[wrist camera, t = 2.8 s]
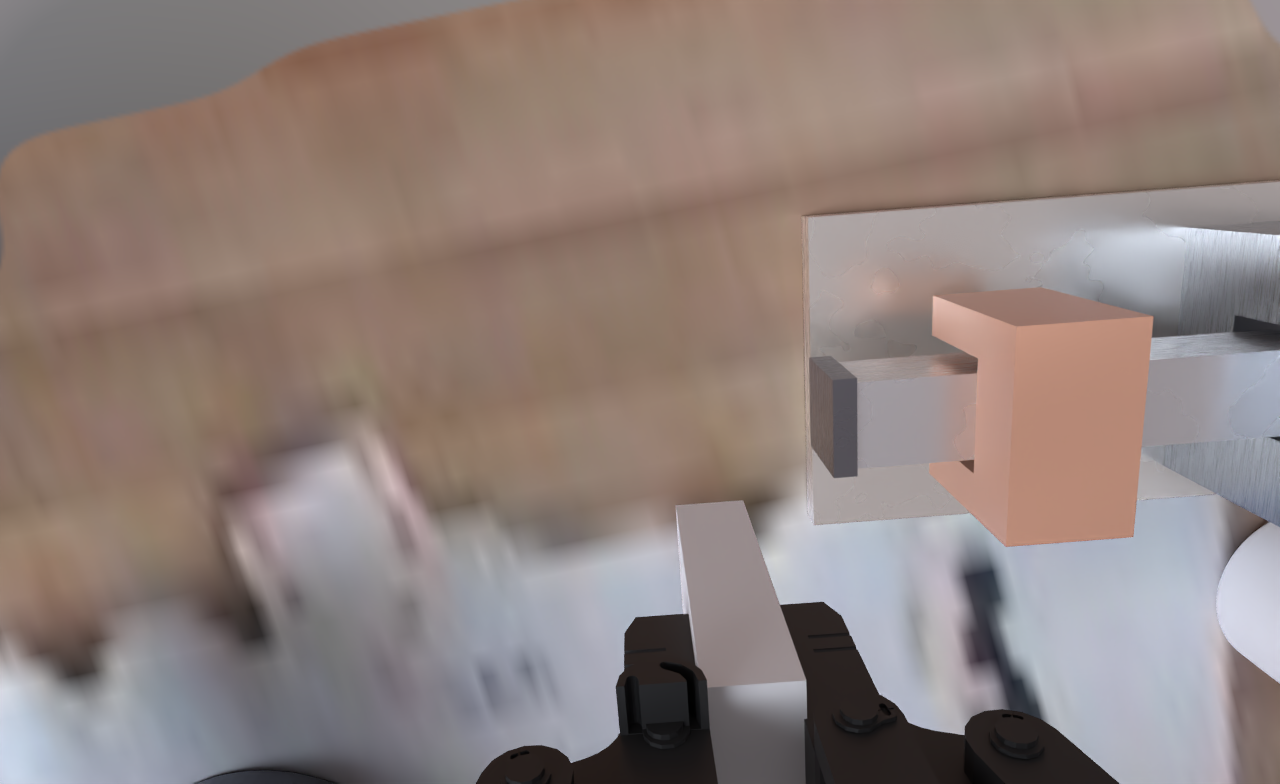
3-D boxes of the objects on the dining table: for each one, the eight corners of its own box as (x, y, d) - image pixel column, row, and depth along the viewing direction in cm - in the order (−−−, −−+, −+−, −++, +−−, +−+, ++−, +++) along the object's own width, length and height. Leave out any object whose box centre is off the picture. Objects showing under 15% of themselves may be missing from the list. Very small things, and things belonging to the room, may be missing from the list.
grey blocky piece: (807, 513, 36) (888, 658, 25) (801, 216, 32) (891, 234, 22) (1299, 476, 36) (1592, 605, 25) (1343, 175, 32) (1704, 172, 22)
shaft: (810, 445, 30) (833, 478, 27) (808, 357, 29) (832, 379, 26) (1255, 411, 30) (1333, 440, 27) (1267, 322, 29) (1348, 340, 26)
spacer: (929, 473, 31) (1005, 546, 25) (932, 295, 30) (1016, 326, 23) (1030, 465, 31) (1133, 537, 25) (1040, 287, 30) (1153, 316, 23)
